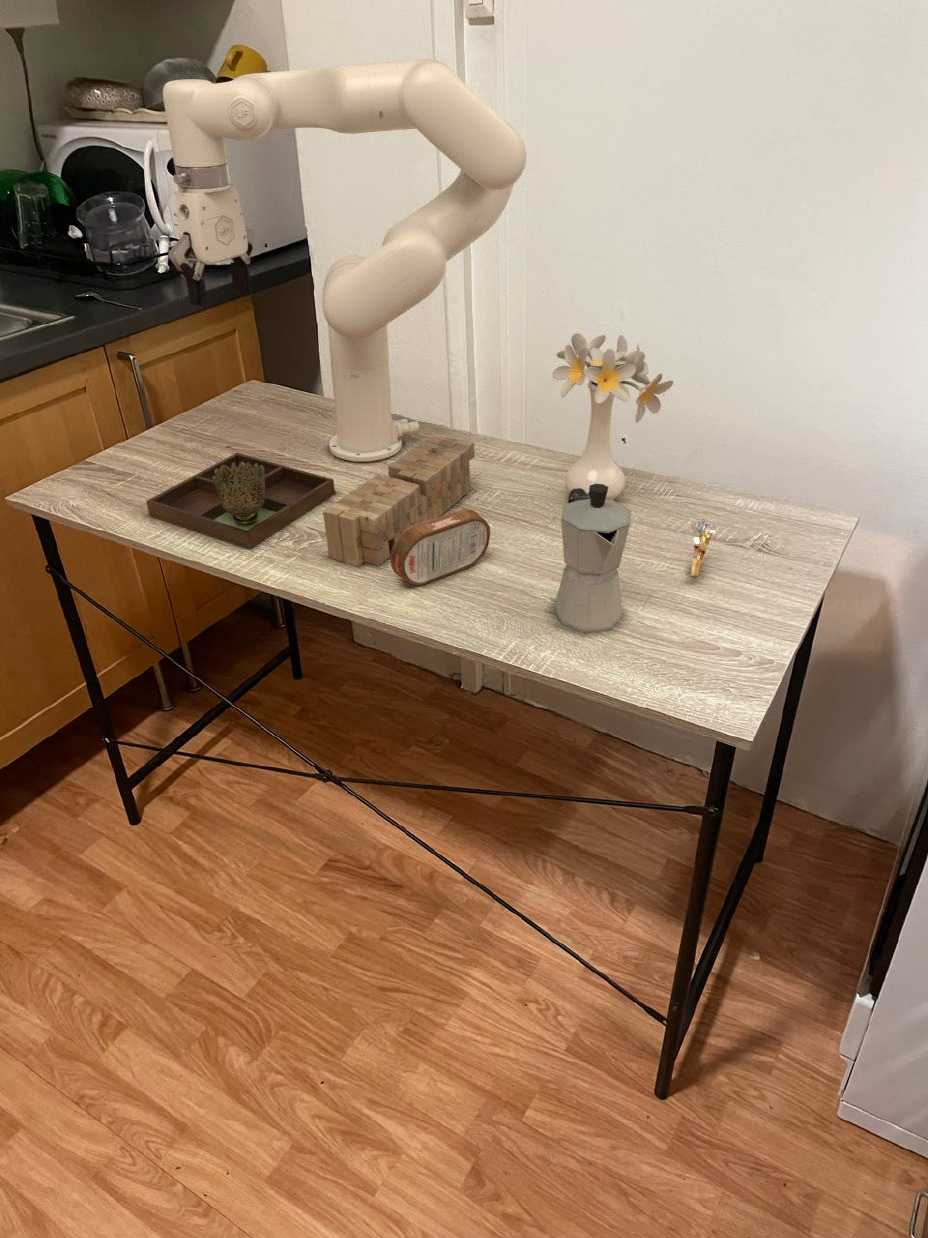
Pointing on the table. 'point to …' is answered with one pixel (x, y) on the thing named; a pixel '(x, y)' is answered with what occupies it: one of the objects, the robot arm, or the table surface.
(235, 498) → the cup
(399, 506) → the block tower
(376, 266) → the robot arm
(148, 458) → the table surface
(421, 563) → the tin
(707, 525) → the ring
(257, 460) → the grid
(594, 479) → the flower vase
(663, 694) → the table surface
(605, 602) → the coffee maker
